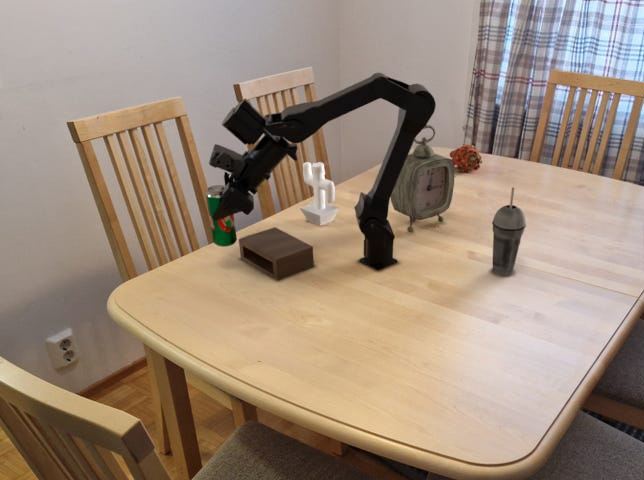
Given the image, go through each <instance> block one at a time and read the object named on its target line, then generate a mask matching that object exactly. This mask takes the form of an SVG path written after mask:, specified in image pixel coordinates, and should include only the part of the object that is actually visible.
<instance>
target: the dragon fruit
mask: <svg viewBox="0 0 644 480" xmlns="http://www.w3.org/2000/svg"><path fill="white" fill-rule="evenodd" d="M449 157H450V159H452V160H453V163H454V167H455V166H456V169H457V171H458V172H462V171H465V173H472V172H473V171H477V170H479V169H480V168H481V164H482V163H483V159H482V154H481V153H480V151H478V149H477V148H476V147H475V146H474V145H470V144H462V146H460V147H459V148H456V149H455V150H451V152H449Z"/></svg>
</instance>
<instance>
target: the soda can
mask: <svg viewBox="0 0 644 480" xmlns="http://www.w3.org/2000/svg"><path fill="white" fill-rule="evenodd" d="M222 187H224V188H225V185H221V184H219V185H218V184H217V185H211V186H209V187H207V188H206V193H205V199H206V207H207V214H208V218H209V226H210V231H211V238H212V242H213V244H214V245H215V246H217V247H220V248H221V247H222V248H224V247H225V248H226V247H230V246H231V247H232V246H233V245H235V243H236V242H237V240H238V237H237V236H238V235H237V230H236V229H237V228H236V221H235V214H233V215H230V216H227V217H225V218H222V219H219V220H217V221H215V220H214V219H212V216H213V214H214V212H215V210H216V209H217V207H218V206H219V204H220V202H221V201H222V199H223V195H222Z"/></svg>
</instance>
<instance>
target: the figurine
mask: <svg viewBox="0 0 644 480" xmlns="http://www.w3.org/2000/svg"><path fill="white" fill-rule="evenodd" d="M302 173H303V182H304V184H305V185H306V186H307V185H308V186H309V187H312V188H313V202H312V203H309V204H306V205H304V206H301V207H299V210H300V211H301V213H302V215H304V218H306V220H307V222H308V223H311V224H314V225H317V226H319V227H322V226H324V225H327V224H329V223H331V222H333V221H334V219H335V217H336V215H337V214H338V212H339V211H340V208H341V207H339V206H338V205H337V206H336V205H333V204H332V203H334V202H335V201H336V194H335V183H334V182H333V181H332V180H330V179H327V178H325V175H326V170H325V164H324V163H323V162H322V161H317V162H313V163H311V162H310V161H305V162H304V163H303V164H302Z"/></svg>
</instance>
